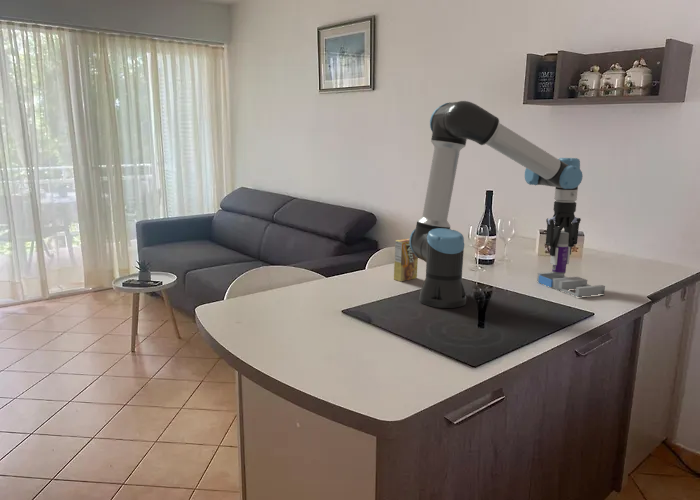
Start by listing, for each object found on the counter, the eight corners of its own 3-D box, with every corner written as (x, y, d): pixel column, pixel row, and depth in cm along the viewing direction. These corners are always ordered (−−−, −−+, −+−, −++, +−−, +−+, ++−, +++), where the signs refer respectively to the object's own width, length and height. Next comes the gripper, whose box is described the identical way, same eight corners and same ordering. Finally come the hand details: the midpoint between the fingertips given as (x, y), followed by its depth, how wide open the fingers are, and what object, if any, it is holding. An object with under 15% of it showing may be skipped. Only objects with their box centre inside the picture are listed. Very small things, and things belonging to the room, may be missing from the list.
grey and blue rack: (576, 298, 181) (577, 288, 181) (535, 282, 202) (536, 273, 201) (604, 295, 185) (605, 286, 184) (561, 280, 205) (561, 271, 205)
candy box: (409, 276, 208) (411, 237, 205) (417, 278, 205) (419, 239, 202) (393, 279, 202) (394, 240, 199) (401, 282, 199) (402, 241, 196)
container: (563, 274, 195) (567, 234, 192) (550, 272, 198) (553, 232, 195) (567, 272, 199) (570, 232, 195) (554, 270, 201) (557, 231, 198)
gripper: (551, 202, 187) (546, 267, 191) (592, 201, 192) (586, 264, 197) (538, 200, 194) (532, 263, 198) (578, 199, 199) (572, 260, 204)
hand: (559, 263), depth 197 cm, fingers closed on container, 5 cm apart
